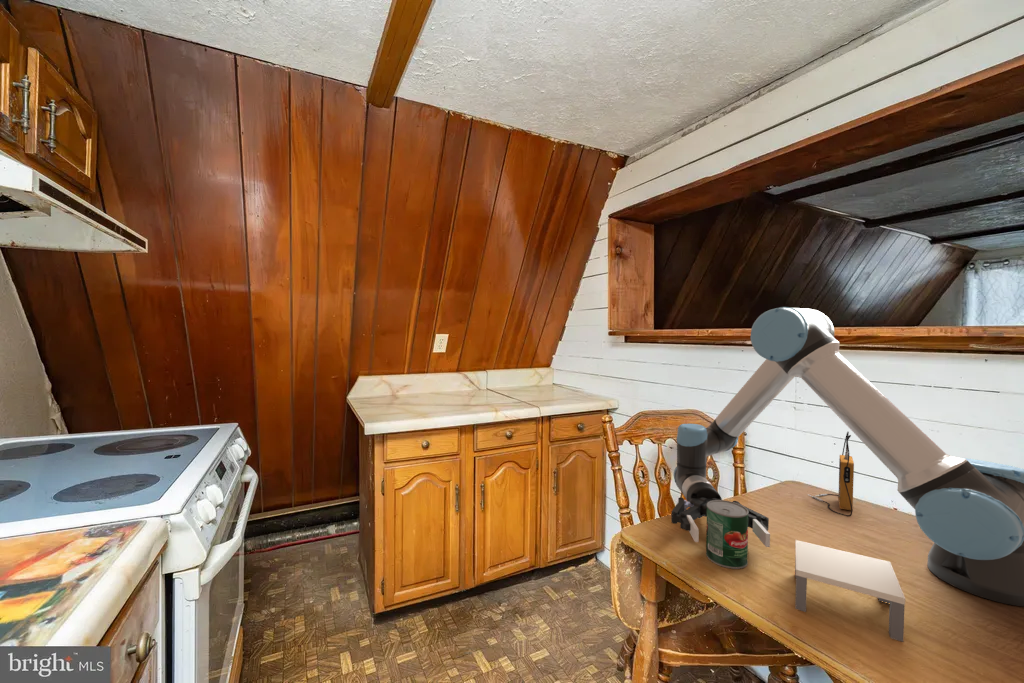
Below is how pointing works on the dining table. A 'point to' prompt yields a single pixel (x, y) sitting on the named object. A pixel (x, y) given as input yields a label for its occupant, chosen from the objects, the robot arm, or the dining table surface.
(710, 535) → the canned tomato
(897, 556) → the dining table surface
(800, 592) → the shelf
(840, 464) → the multimeter
